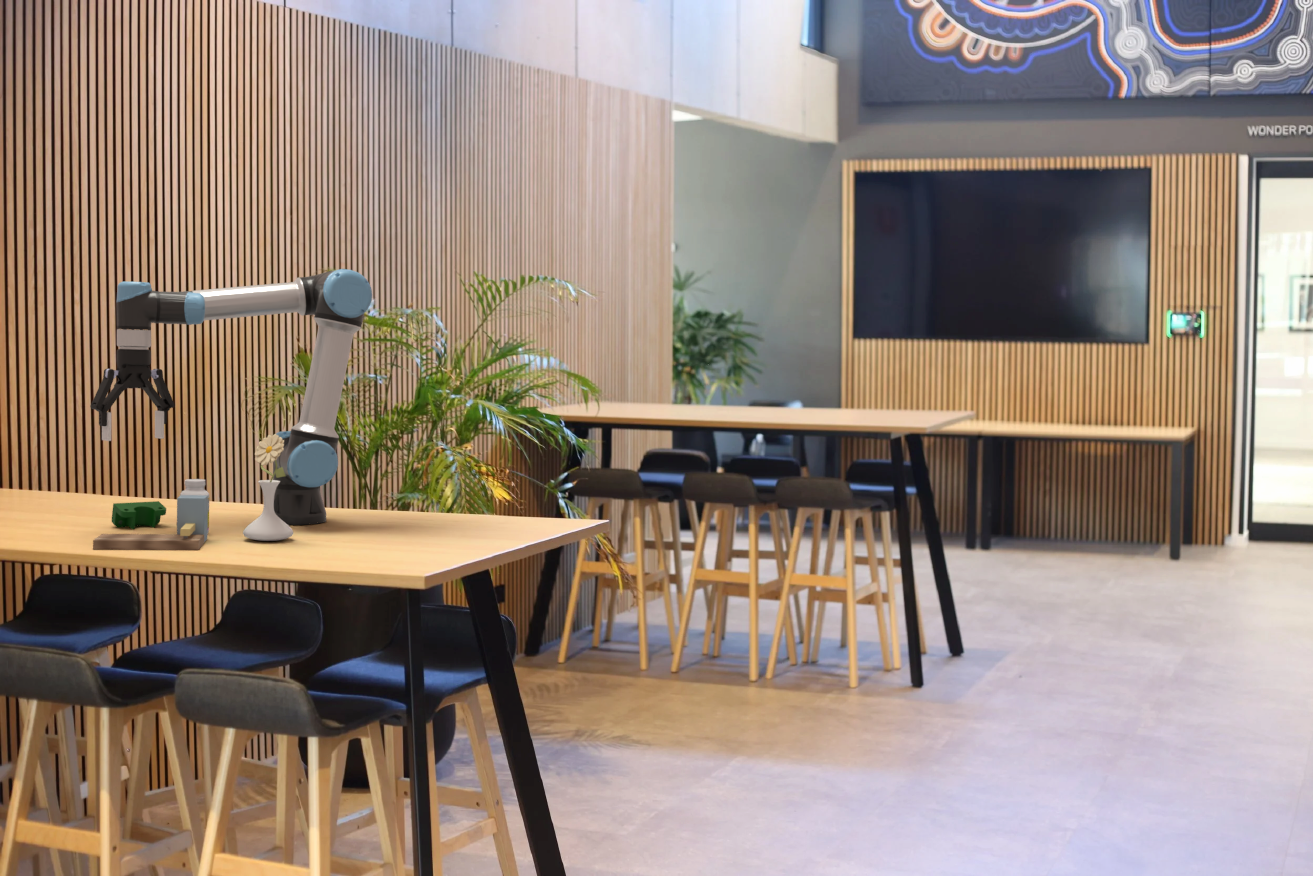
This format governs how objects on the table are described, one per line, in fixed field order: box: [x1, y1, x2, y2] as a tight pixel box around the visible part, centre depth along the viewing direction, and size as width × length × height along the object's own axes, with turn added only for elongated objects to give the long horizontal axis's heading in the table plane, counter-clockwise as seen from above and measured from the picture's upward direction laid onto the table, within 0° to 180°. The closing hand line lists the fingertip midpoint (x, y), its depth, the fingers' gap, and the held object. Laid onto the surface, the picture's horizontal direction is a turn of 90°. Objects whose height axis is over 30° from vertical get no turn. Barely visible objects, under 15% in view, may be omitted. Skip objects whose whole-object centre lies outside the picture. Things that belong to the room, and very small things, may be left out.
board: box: [92, 533, 205, 551], centre depth 320 cm, size 22×10×2 cm, turn 101°
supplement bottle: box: [179, 478, 210, 533], centre depth 341 cm, size 7×7×13 cm
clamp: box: [111, 500, 167, 530], centre depth 349 cm, size 12×6×9 cm, turn 124°
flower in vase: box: [242, 433, 294, 542], centre depth 334 cm, size 13×11×25 cm
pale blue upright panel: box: [176, 494, 209, 543], centre depth 325 cm, size 6×16×10 cm, turn 11°
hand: (133, 439), depth 337 cm, fingers open, 13 cm apart
